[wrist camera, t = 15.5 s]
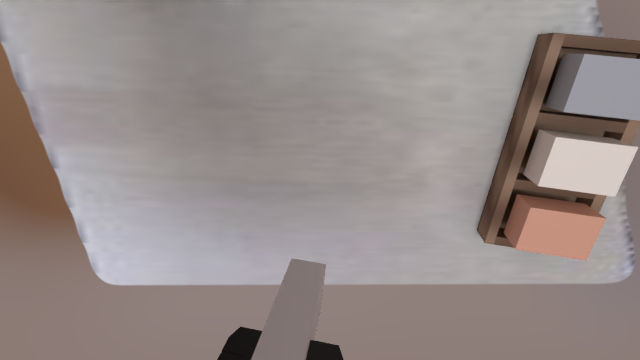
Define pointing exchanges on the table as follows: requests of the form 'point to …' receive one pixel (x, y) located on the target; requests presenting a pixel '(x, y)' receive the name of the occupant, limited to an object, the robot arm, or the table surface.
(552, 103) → the slate key
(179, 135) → the table surface
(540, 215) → the terracotta key
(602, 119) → the wooden compartment tray
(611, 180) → the cream key
